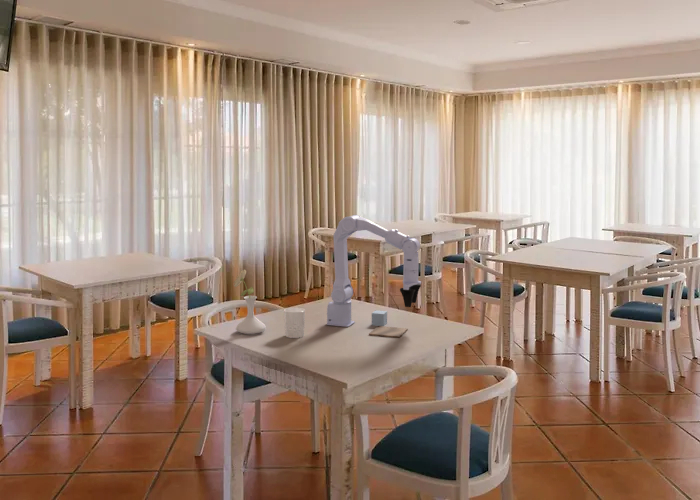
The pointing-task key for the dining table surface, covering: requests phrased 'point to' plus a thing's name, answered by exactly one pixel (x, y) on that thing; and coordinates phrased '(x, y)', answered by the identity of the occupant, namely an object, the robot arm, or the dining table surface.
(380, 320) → the blue cube
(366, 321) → the dining table surface
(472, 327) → the dining table surface
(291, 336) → the white cup
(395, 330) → the walnut board
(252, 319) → the flower in vase
